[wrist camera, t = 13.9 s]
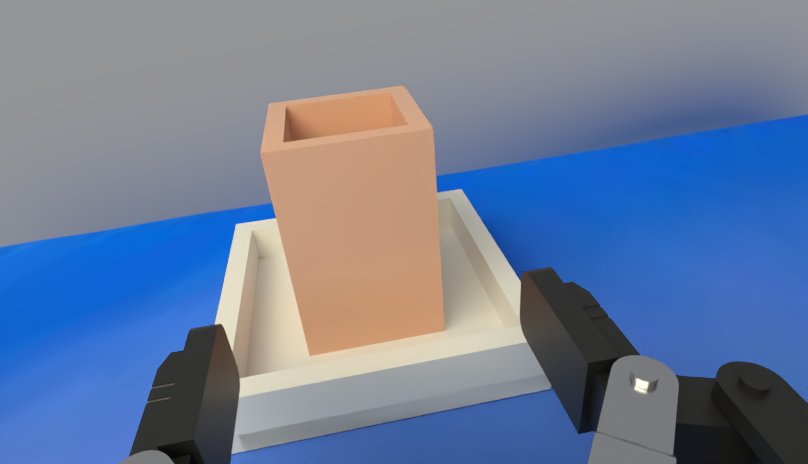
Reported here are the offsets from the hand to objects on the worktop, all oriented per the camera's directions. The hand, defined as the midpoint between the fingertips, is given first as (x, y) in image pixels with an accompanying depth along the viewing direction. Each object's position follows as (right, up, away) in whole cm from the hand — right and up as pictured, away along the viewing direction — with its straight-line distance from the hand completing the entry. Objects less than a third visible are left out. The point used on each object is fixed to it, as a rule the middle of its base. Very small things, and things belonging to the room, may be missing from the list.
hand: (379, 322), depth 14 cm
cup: (-1, -1, +13) cm, 13 cm away
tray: (-1, -2, +14) cm, 14 cm away
